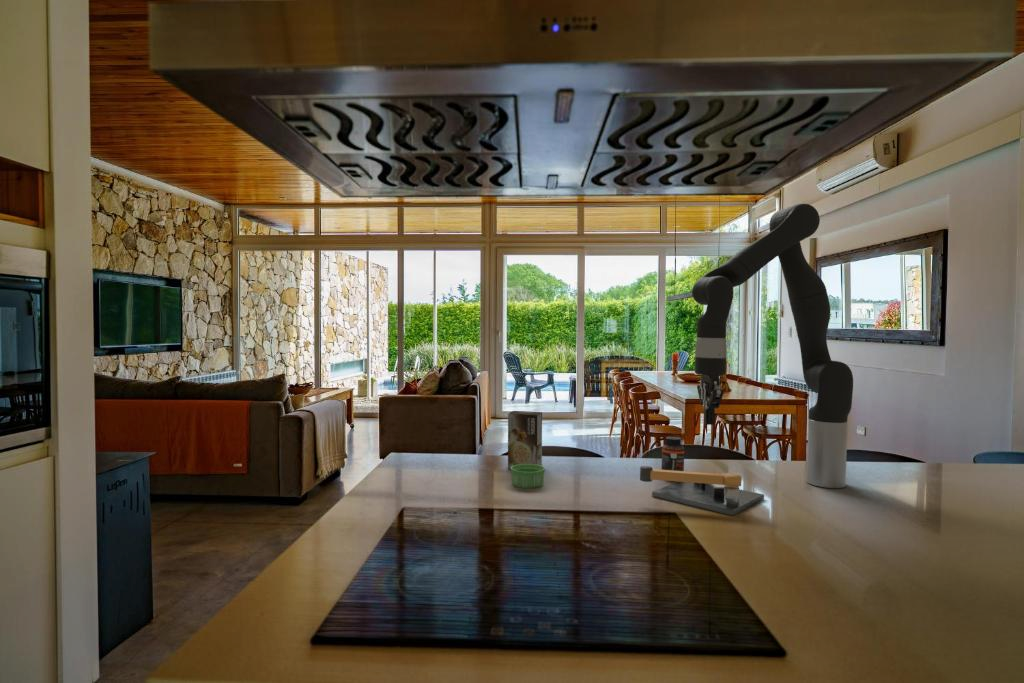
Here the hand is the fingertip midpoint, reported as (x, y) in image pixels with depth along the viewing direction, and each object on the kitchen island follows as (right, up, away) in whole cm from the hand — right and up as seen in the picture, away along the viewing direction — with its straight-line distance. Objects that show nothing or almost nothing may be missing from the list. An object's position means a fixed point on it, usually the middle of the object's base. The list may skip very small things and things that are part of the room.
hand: (709, 424), depth 148 cm
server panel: (-2, -17, -6) cm, 18 cm away
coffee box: (-46, -16, +22) cm, 54 cm away
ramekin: (-46, -17, +4) cm, 49 cm away
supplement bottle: (-6, -17, +12) cm, 21 cm away
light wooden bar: (-9, -12, -13) cm, 20 cm away
